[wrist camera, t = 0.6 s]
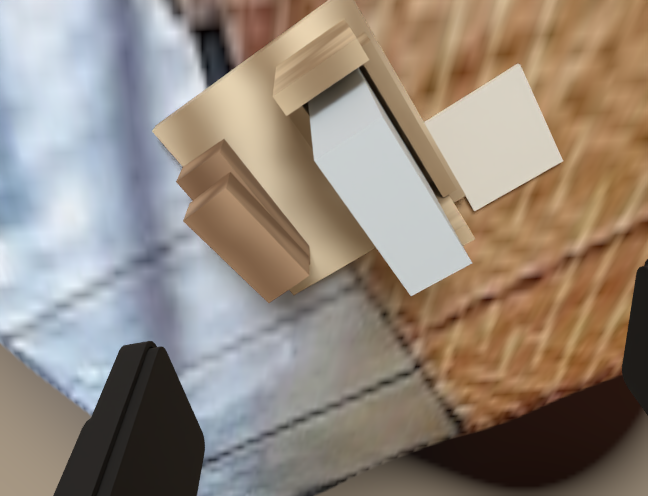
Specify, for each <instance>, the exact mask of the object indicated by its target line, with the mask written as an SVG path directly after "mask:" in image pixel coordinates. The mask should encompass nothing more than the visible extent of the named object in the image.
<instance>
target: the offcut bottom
mask: <svg viewBox="0 0 648 496" xmlns="http://www.w3.org/2000/svg"><path fill="white" fill-rule="evenodd" d="M229 172H231V173H232V174H233V175H234V176H235V177H236V178H237V180H238V181H239V182H240V183H241V184H242V185H243V186H244V187H245V188H246V189H247V190H248V191H249V192H250V194H251V195H252V196H253V197H254V198H255V199H256V200H257V201H258V202H259V203H260V204H261V205H262V206H263V207H264V209H265V210H266V211H267V212H268V213H269V214H270V215H271V216H272V217H273V218H274V219H275V220H276V221H277V222H278V224H279V225H280V226H281V227H282V228H283V229H284V230H285V231H286V232H287V233H288V234H289V235H290V236H291V237H292V239H293V240H294V241H295V242H296V243H297V244H298V245H299V246H300V247H301V248H302V249H303V250H304V251H305V252H306V254H307V255H308V256H309V265H310V249H309V245H308V244H307V242H306V241H305V240H304V239H303V237H302V236H301V235H300V234H299V232H298V231H297V230H296V229H295V227H294V226H293V225H292V224H291V222H290V221H289V220H288V219H287V217H286V216H285V215H284V213H283V212H282V211H281V210H280V208H279V207H278V206H277V205H276V203H275V202H274V201H273V200H272V198H271V197H270V196H269V195H268V193H267V192H266V191H265V190H264V188H263V187H262V186H261V184H260V183H259V182H258V181H257V179H256V178H255V177H254V176H253V174H252V173H251V172H250V171H249V169H248V168H247V167H246V166H245V164H244V163H243V162H242V161H241V159H240V158H239V157H238V156H237V154H236V153H235V152H234V150H233V149H232V148H231V147H230V145H229V144H228V143H227V142H226V140H225V139H223V140H221V141H220V142H218V143H217V144H215V145H214V146H213V147H211V148H210V149H208V150H207V151H205V152H204V153H202V154H201V155H199V156H198V157H197V158H195V159H194V160H192V161H191V162H189V163H188V164H186V165H185V166H184V167H183V168H182V170H181V172H180V174H179V177H178V179H177V181H176V182H177V183H178V184H179V186H180V187H181V188H182V189H183V190H184V191H185V192H186V193H187V195H188V196H189V197H190V198H191V199H192V200H195V199H196V198H197V197H198V196H200V195H201V194H202V193H203V192H205V191H206V190H207V189H209V188H210V187H211V186H212V185H214V184H215V183H216V182H218V181H219V180H220V179H221V178H223V177H224V176H225V175H227V174H228V173H229Z"/></svg>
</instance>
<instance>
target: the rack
mask: <svg viewBox="0 0 648 496" xmlns="http://www.w3.org/2000/svg"><path fill="white" fill-rule="evenodd" d="M358 67H359V68H360V70H361V72H362V73H363V75H364V77H365V78H366V80H367V82H368V83H369V85H370V87H371V88H372V90H373V92H374V93H375V95H376V96H377V98H378V100H379V101H380V103H381V105H382V106H383V108H384V110H385V111H386V113H387V115H388V116H389V118H390V120H391V121H392V123H393V125H394V126H395V128H396V129H397V131H398V133H399V134H400V136H401V138H402V139H403V141H404V143H405V144H406V146H407V148H408V149H409V151H410V153H411V154H412V156H413V158H414V159H415V161H416V162H417V164H418V166H419V167H420V169H421V171H422V173H423V174H424V176H425V178H426V180H427V182H428V183H429V185H430V187H431V189H432V191H433V193H434V194H435V196H436V198H437V200H438V202H439V204H440V205H441V207H442V209H443V211H444V213H445V215H446V216H447V218H448V220H449V222H450V224H451V225H452V227H453V229H454V231H455V233H456V235H457V236H458V238H459V240H460V242H461V244H462V246H464V245H466V244H468V243H469V242H471V241H473V240H475V238H474V236H473V234H472V233H471V231H470V229H469V227H468V226H467V224H466V222H465V221H464V219H463V217H462V216H461V214H460V212H459V211H458V209H457V207H456V206H455V204H454V202H456V201H458V200H460V199H461V198H463V197H465V196H466V195H465V193H464V191H463V190H462V188H461V186H460V184H459V183H458V181H457V179H456V177H455V176H454V174H453V172H452V170H451V169H450V167H449V165H448V163H447V162H446V160H445V158H444V156H443V155H442V153H441V151H440V149H439V148H438V146H437V144H436V142H435V141H434V139H433V137H432V135H431V134H430V132H429V130H428V129H427V127H426V125H425V123H424V122H423V120H422V118H421V116H420V115H419V113H418V111H417V109H416V108H415V106H414V104H413V102H412V101H411V99H410V97H409V95H408V94H407V92H406V90H405V88H404V87H403V85H402V83H401V81H400V80H399V78H398V76H397V74H396V73H395V71H394V69H393V67H392V66H391V64H390V62H389V60H388V59H387V57H386V55H385V53H384V52H383V50H382V48H381V46H380V45H379V43H378V41H377V39H376V38H375V36H374V34H373V33H372V31H371V29H370V27H369V26H368V24H367V22H366V20H365V19H364V17H363V15H362V13H361V12H360V10H359V8H358V6H357V5H356V3H355V1H354V0H328V1H327V2H325V3H324V4H323V5H321V6H320V7H319V8H317V9H316V10H314V11H313V12H312V13H310V14H309V15H307V16H306V17H305V18H303V19H302V20H301V21H299V22H298V23H296V24H295V25H294V26H292V27H291V28H290V29H288V30H287V31H285V32H284V33H283V34H281V35H280V36H279V37H277V38H276V39H274V40H273V41H272V42H270V43H269V44H268V45H266V46H265V47H263V48H262V49H261V50H259V51H258V52H256V53H255V54H254V55H252V56H251V57H250V58H248V59H247V60H245V61H244V62H243V63H241V64H240V65H239V66H237V67H236V68H234V69H233V70H232V71H230V72H229V73H228V74H226V75H225V76H223V77H222V78H221V79H219V80H218V81H217V82H215V83H214V84H212V85H211V86H210V87H208V88H207V89H205V90H204V91H203V92H201V93H200V94H199V95H197V96H196V97H194V98H193V99H192V100H190V101H189V102H188V103H186V104H185V105H183V106H182V107H181V108H179V109H178V110H177V111H175V112H174V113H172V114H171V115H170V116H168V117H167V118H166V119H164V120H163V121H161V122H160V123H159V124H157V125H156V126H155V128H154V129H153V130H152V132H153V133H154V134H155V135H156V136H157V137H158V138H159V140H160V141H161V142H162V143H163V144H164V145H165V147H166V148H167V149H168V150H169V151H170V152H171V154H172V155H173V156H174V157H175V158H176V159H177V161H178V162H179V163H180V164H181V165H182V166H183V167H184V166H185V165H186V164H188V163H189V162H191V161H192V160H194V159H195V158H197V157H198V156H199V155H201V154H202V153H204V152H205V151H207V150H208V149H210V148H211V147H213V146H214V145H215V144H217V143H218V142H220V141H221V140H223V139H225V140H226V142H227V143H228V144H229V145H230V147H231V148H232V149H233V150H234V152H235V153H236V154H237V156H238V157H239V158H240V159H241V161H242V162H243V163H244V164H245V166H246V167H247V168H248V169H249V171H250V172H251V173H252V174H253V176H254V177H255V178H256V179H257V181H258V182H259V183H260V184H261V186H262V187H263V188H264V190H265V191H266V192H267V193H268V195H269V196H270V197H271V198H272V200H273V201H274V202H275V203H276V205H277V206H278V207H279V208H280V210H281V211H282V212H283V213H284V215H285V216H286V217H287V219H288V220H289V221H290V222H291V224H292V225H293V226H294V227H295V229H296V230H297V231H298V232H299V234H300V235H301V236H302V237H303V239H304V240H305V241H306V242H307V244H308V245H309V249H310V265H309V272H310V276H308V277H307V278H305V279H304V280H302V281H301V282H299V283H298V284H297V285H295V286H294V287H292V288H291V289H289V290H290V292H291V293H292V294H293V295H295V294H297V293H299V292H300V291H302V290H304V289H306V288H307V287H309V286H311V285H313V284H314V283H316V282H318V281H319V280H321V279H323V278H325V277H326V276H328V275H330V274H332V273H333V272H335V271H337V270H339V269H340V268H342V267H344V266H345V265H347V264H349V263H351V262H352V261H354V260H356V259H358V258H359V257H361V256H363V255H364V254H366V253H368V252H370V251H371V250H373V249H375V248H376V247H375V245H374V244H373V242H372V241H371V240H370V238H369V237H368V235H367V234H366V233H365V231H364V230H363V228H362V227H361V226H360V224H359V223H358V221H357V220H356V219H355V217H354V216H353V214H352V213H351V212H350V210H349V209H348V207H347V206H346V205H345V203H344V202H343V200H342V199H341V198H340V196H339V195H338V193H337V192H336V191H335V189H334V188H333V186H332V185H331V184H330V182H329V181H328V179H327V178H326V177H325V175H324V174H323V172H322V171H321V170H320V168H319V167H318V165H317V164H316V163H315V161H314V155H313V146H312V136H311V126H310V116H309V106H308V101H310V100H311V99H312V98H314V97H315V96H317V95H318V94H320V93H321V92H323V91H324V90H326V89H327V88H329V87H330V86H332V85H333V84H335V83H336V82H338V81H339V80H340V79H342V78H343V77H345V76H346V75H348V74H349V73H351V72H352V71H354V70H355V69H357V68H358Z"/></svg>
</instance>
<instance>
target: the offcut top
mask: <svg viewBox="0 0 648 496" xmlns="http://www.w3.org/2000/svg"><path fill="white" fill-rule="evenodd" d="M183 221H184V222H185V223H186V224H187V225H188V226H189V227H190V228H191V229H192V230H193V231H194V232H195V233H196V234H197V235H198V236H199V237H200V238H201V239H202V240H203V241H204V242H205V243H207V244H208V245H209V246H210V247H211V248H212V249H213V250H214V251H215V252H216V253H217V254H218V255H219V256H220V257H221V258H222V259H223V260H224V261H225V262H226V263H227V264H228V265H229V266H230V267H232V268H233V269H234V270H235V271H236V272H237V273H238V274H239V275H240V276H241V277H242V278H243V279H244V280H245V281H246V282H247V283H248V284H249V285H250V286H251V287H252V288H253V289H254V290H255V291H257V292H258V293H259V294H260V295H261V296H262V297H263V298H264V299H265V300H266V301H267V302H268V303H270V302H271V301H273V300H274V299H276V298H277V297H279V296H280V295H282V294H283V293H285V292H286V291H288V290H289V289H291V288H292V287H294V286H295V285H297V284H298V283H299V282H301V281H302V280H304V279H305V278H307V277H308V276H310V272H309V256H308V255H307V254H306V252H305V251H304V250H303V249H302V248H301V247H300V246H299V245H298V244H297V243H296V242H295V241H294V240H293V239H292V237H291V236H290V235H289V234H288V233H287V232H286V231H285V230H284V229H283V228H282V227H281V226H280V225H279V224H278V222H277V221H276V220H275V219H274V218H273V217H272V216H271V215H270V214H269V213H268V212H267V211H266V210H265V209H264V207H263V206H262V205H261V204H260V203H259V202H258V201H257V200H256V199H255V198H254V197H253V196H252V195H251V194H250V192H249V191H248V190H247V189H246V188H245V187H244V186H243V185H242V184H241V183H240V182H239V181H238V180H237V178H236V177H235V176H234V175H233V174H232V173H231V172H229V173H228V174H227V175H225V176H224V177H223V178H221V179H220V180H219V181H218V182H216V183H215V184H214V185H212V186H211V187H210V188H209V189H207V190H206V191H205V192H203V193H202V194H201V195H200V196H198V197H197V198H196V199H195V200H193V201H192V202H191V203H190V204H189V207H188V209H187V212H186V215H185V217H184V220H183Z"/></svg>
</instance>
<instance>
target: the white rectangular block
mask: <svg viewBox="0 0 648 496" xmlns="http://www.w3.org/2000/svg"><path fill="white" fill-rule="evenodd" d="M308 106H309V116H310V126H311V136H312V146H313V155H314V161H315V163H316V164H317V165H318V167H319V168H320V170H321V171H322V172H323V174H324V175H325V177H326V178H327V179H328V181H329V182H330V184H331V185H332V186H333V188H334V189H335V191H336V192H337V193H338V195H339V196H340V198H341V199H342V200H343V202H344V203H345V205H346V206H347V207H348V209H349V210H350V212H351V213H352V214H353V216H354V217H355V219H356V220H357V221H358V223H359V224H360V226H361V227H362V228H363V230H364V231H365V233H366V234H367V235H368V237H369V238H370V240H371V241H372V242H373V244H374V245H375V247H376V248H377V249H378V251H379V252H380V254H381V255H382V256H383V258H384V259H385V261H386V262H387V263H388V265H389V266H390V268H391V269H392V270H393V272H394V273H395V275H396V276H397V277H398V279H399V280H400V282H401V283H402V284H403V286H404V287H405V289H406V290H407V291H408V293H409V294H410V296H413V295H414V294H416V293H418V292H420V291H422V290H424V289H425V288H427V287H429V286H431V285H433V284H435V283H437V282H438V281H440V280H442V279H444V278H446V277H448V276H449V275H451V274H453V273H455V272H457V271H459V270H460V269H462V268H464V267H466V266H468V265H470V264H472V262H471V260H470V258H469V257H468V255H467V253H466V251H465V249H464V247H463V246H462V244H461V242H460V240H459V238H458V236H457V235H456V233H455V231H454V229H453V227H452V225H451V224H450V222H449V220H448V218H447V216H446V215H445V213H444V211H443V209H442V207H441V205H440V204H439V202H438V200H437V198H436V196H435V194H434V193H433V191H432V189H431V187H430V185H429V183H428V182H427V180H426V178H425V176H424V174H423V173H422V171H421V169H420V167H419V166H418V164H417V162H416V161H415V159H414V158H413V156H412V154H411V153H410V151H409V149H408V148H407V146H406V144H405V143H404V141H403V139H402V138H401V136H400V134H399V133H398V131H397V129H396V128H395V126H394V125H393V123H392V121H391V120H390V118H389V116H388V115H387V113H386V111H385V110H384V108H383V106H382V105H381V103H380V101H379V100H378V98H377V96H376V95H375V93H374V92H373V90H372V88H371V87H370V85H369V83H368V82H367V80H366V78H365V77H364V75H363V73H362V72H361V70H360V68H359V67H358V68H357V69H355V70H354V71H352V72H351V73H349V74H348V75H346V76H345V77H343V78H342V79H340V80H339V81H338V82H336V83H335V84H333V85H332V86H330V87H329V88H327V89H326V90H324V91H323V92H321V93H320V94H318V95H317V96H315V97H314V98H312V99H311V100H310V101H308Z"/></svg>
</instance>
